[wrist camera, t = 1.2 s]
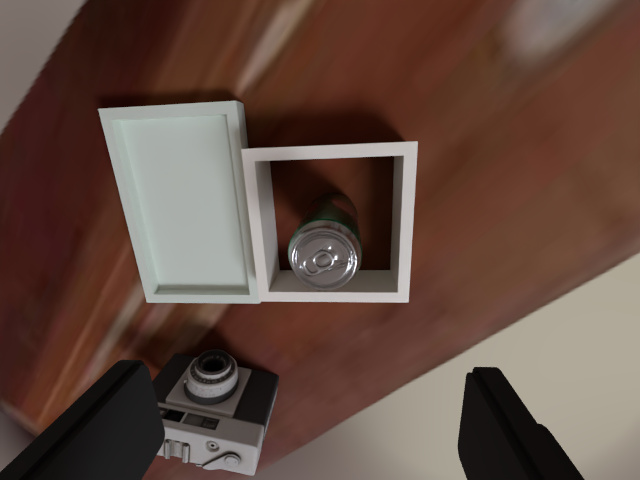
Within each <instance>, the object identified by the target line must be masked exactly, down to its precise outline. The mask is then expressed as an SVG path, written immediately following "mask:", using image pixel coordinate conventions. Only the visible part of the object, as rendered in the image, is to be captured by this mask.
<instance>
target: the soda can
mask: <svg viewBox="0 0 640 480" xmlns="http://www.w3.org/2000/svg"><path fill="white" fill-rule="evenodd" d="M288 258H289V262H290V265H291V267H292V269H293V271H294V273H295V275H296V276H297V278H298V279H299V280H300V281H301V282H302V283H304V284H305V285H307V286H308V287H310V288H313V289H316V290H323V291H327V290H334V289H337V288H339V287H341V286H343V285H344V284H346V283H347V282H348V281H349V280H351V279H352V278H353V277H354V276H355V275H356V273H357V272H358V270H359V268H360V265H361V262H362V245H361V238H360V230H359V223H358V215H357V211H356V208H355V206H354V204H353V203H352V202H351V200H350V199H348V198H347V197H345V196H344V195H341V194H338V193H326V194H323V195H321V196H319V197H317V198H316V199H315V200H314V201H313V202H312V203H311V205H310V207H309V208H308V210H307V212H306V214H305V215H304V217H303V219H302V220H301V222H300V224H299V226H298V227H297V229H296V231H295V232H294V234H293V236H292V238H291V240H290V243H289V247H288Z"/></svg>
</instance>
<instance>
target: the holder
mask: <svg viewBox="0 0 640 480" xmlns="http://www.w3.org/2000/svg"><path fill="white" fill-rule="evenodd" d="M417 147H418V141H405V142H382V143H358V144H335V145H312V146H289V147H265V148H248V149H241V152H242V161H243V169H244V178H245V186H246V194H247V203H248V211H249V220H250V228H251V236H252V245H253V253H254V262H255V270H256V278H257V287H258V295H259V301H283V302H406V303H408V302H409V285H410V268H411V251H412V233H413V216H414V199H415V182H416V164H417ZM377 156H394V178H393V206H392V235H391V263H390V270H358V272H357V273H356V275H355V276H354V277H353V278H352V279H351V280H349V281H348V282H347V283H346V284H344V285H343V286H341V287H339V288H337V289H334V290H327V291H323V290H316V289H313V288H310V287H308V286H307V285H305V284H304V283H302V282H301V281H300V280H299V279H298V278H297V276H296V275H295V273H294V271H293V270H280V267H279V256H278V245H277V234H276V223H275V212H274V201H273V190H272V179H271V168H270V161H274V160H300V159H325V158H351V157H377Z"/></svg>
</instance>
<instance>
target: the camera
mask: <svg viewBox="0 0 640 480" xmlns="http://www.w3.org/2000/svg"><path fill="white" fill-rule="evenodd" d="M278 381H279V376H278V375H276V374H272V373H267V372H262V371H258V370H253V369H248V368H243V367H239V366H237V363H236V361H235V359H234V358H233V357H232V356H230V355H229V354H228V353H227V352H225V351H223V350H218V349H214V350H208V351H206V352H204V353H202V354H201V355H200V356H198V357H197V358H196V357H192V356H187V355H182V354H177V353H176V354H174V355H173V357H172V358H171V359H170V360H169V362H168V363H167V364H166V365H165V367H164V368H163V369H162V370H161V371H160V373H159V374H158V375H157V376H156V378H155V379H154V380H153V381H152V383H153V387H154V391H155V395H156V399H157V402H158V406H159V410H160V414H161V418H162V421H163V425H164V429H165V439H164V442H163V445H162V446H161V448H160V450H159V451H158V453H157V455H161V456H165V458H166V459H169V455H170V456H177V457H181V458H183V462H184V463H187V462H188V461H189V462H192V463H197V464H196V466H202V467H203V468H204V469H208V470H214V469H224V470H229V471H233V472H238V473H242V474H247V475H254V474H255V470H256V467H257V463H258V460H259V456H260V453H261V449H262V445H263V442H264V438H265V435H266V431H267V428H268V424H269V421H270V417H271V414H272V410H273V407H274V403H275V399H276V393H277V388H278Z"/></svg>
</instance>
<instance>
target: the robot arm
mask: <svg viewBox="0 0 640 480" xmlns="http://www.w3.org/2000/svg"><path fill="white" fill-rule="evenodd" d="M164 439H165V429H164V425H163V421H162V418H161V414H160V410H159V406H158V402H157V399H156V395H155V391H154V387H153V383H152V380H151V376H150V372H149V369H148V367H147V366H145V365H144V362H142V361H141V360H120V361H118V362H117V363H116V364H114V365H113V366H112V367H111V368H110V369H109V370H108V371H107V372H106V373H105V374H104V375H103V376H102V377H101V378H100V379H99V380H98V381H96V382H95V383H94V384H93V385H92V386H91V387H90V388H89V389H88V390H87V391H86V392H85V393H84V394H83V395H82V396H81V397H79V398H78V399H77V400H76V401H75V402H74V403H73V404H72V405H71V406H70V407H69V408H68V409H67V410H66V411H65V412H64V413H63V414H61V415H60V416H59V417H58V418H57V419H56V420H55V421H54V422H53V423H52V424H51V425H50V426H49V427H48V428H47V429H46V430H45V431H43V432H42V433H41V434H40V435H39V436H38V437H37V438H36V439H35V440H34V441H33V442H32V443H31V444H30V445H29V446H28V447H27V448H25V449H24V451H22V452H21V453H20V454H19V455H18V456H17V457H16V458H15V459H14V460H13V461H12V462H11V463H10V464H8V465H7V466H6V467H5V468H4V469H3V470H2V471H1V472H0V480H141V479H142V478H143V476H144V474H145V473H146V471H147V469H148V468H149V466H150V464H151V463H152V461H153V460H154V458H155V456H156V455H157V453H158V451H159V450H160V448H161V446H162V445H163V442H164ZM458 453H459V458H460V461H461V464H462V467H463V469H464V472H465V475H466V478H467V480H584V478H583V477H582V475H581V474H580V473H579V471H578V470H577V469H576V467H575V466H574V464H573V463H572V461H571V460H570V459H569V457H568V456H567V455H566V453H565V452H564V450H563V449H562V448H561V446H560V445H559V443H558V442H557V441H556V440H555V438H554V436H553V435H552V434H551V433H550V431H549V430H548V429H547V428H546V427H545V426H543V425H542V424H537V422H536V421H535V419H534V418H533V417H532V415H531V414H530V412H529V411H528V410H527V408H526V406H525V405H524V404H523V402H522V401H521V399H520V398H519V396H518V395H517V393H516V392H515V390H514V389H513V388H512V386H511V385H510V383H509V382H508V380H507V379H506V377H505V376H504V375H503V373H502V372H501V370H500V369H498V368H497V367H474V369H473V372H472V373H467V375H466V383H465V391H464V399H463V406H462V415H461V422H460V431H459V438H458Z"/></svg>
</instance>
